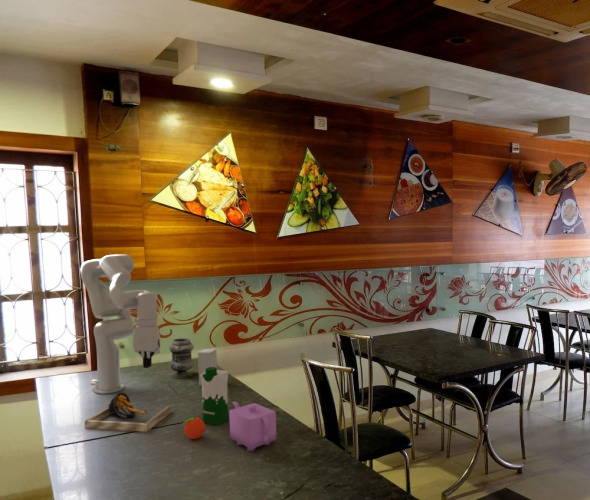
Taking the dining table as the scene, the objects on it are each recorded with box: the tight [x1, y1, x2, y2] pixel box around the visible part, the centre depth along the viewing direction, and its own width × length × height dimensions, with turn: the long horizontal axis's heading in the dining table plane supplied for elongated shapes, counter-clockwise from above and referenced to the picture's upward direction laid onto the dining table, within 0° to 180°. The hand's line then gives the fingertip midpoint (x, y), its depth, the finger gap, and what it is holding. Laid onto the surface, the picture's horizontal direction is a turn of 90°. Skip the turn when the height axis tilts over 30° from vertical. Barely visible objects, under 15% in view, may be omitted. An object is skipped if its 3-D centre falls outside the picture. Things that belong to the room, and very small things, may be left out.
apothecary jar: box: [168, 337, 195, 379], centre depth 237 cm, size 12×12×18 cm
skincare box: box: [197, 348, 218, 387], centre depth 223 cm, size 8×7×16 cm
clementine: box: [181, 416, 206, 440], centre depth 161 cm, size 8×7×7 cm
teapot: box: [228, 401, 277, 452], centre depth 157 cm, size 20×10×12 cm, turn 41°
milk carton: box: [200, 367, 230, 426], centre depth 176 cm, size 9×9×20 cm
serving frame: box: [84, 404, 172, 433], centre depth 180 cm, size 24×19×2 cm
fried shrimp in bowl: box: [108, 392, 149, 419], centre depth 183 cm, size 9×11×18 cm
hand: (147, 366), depth 195 cm, fingers closed
